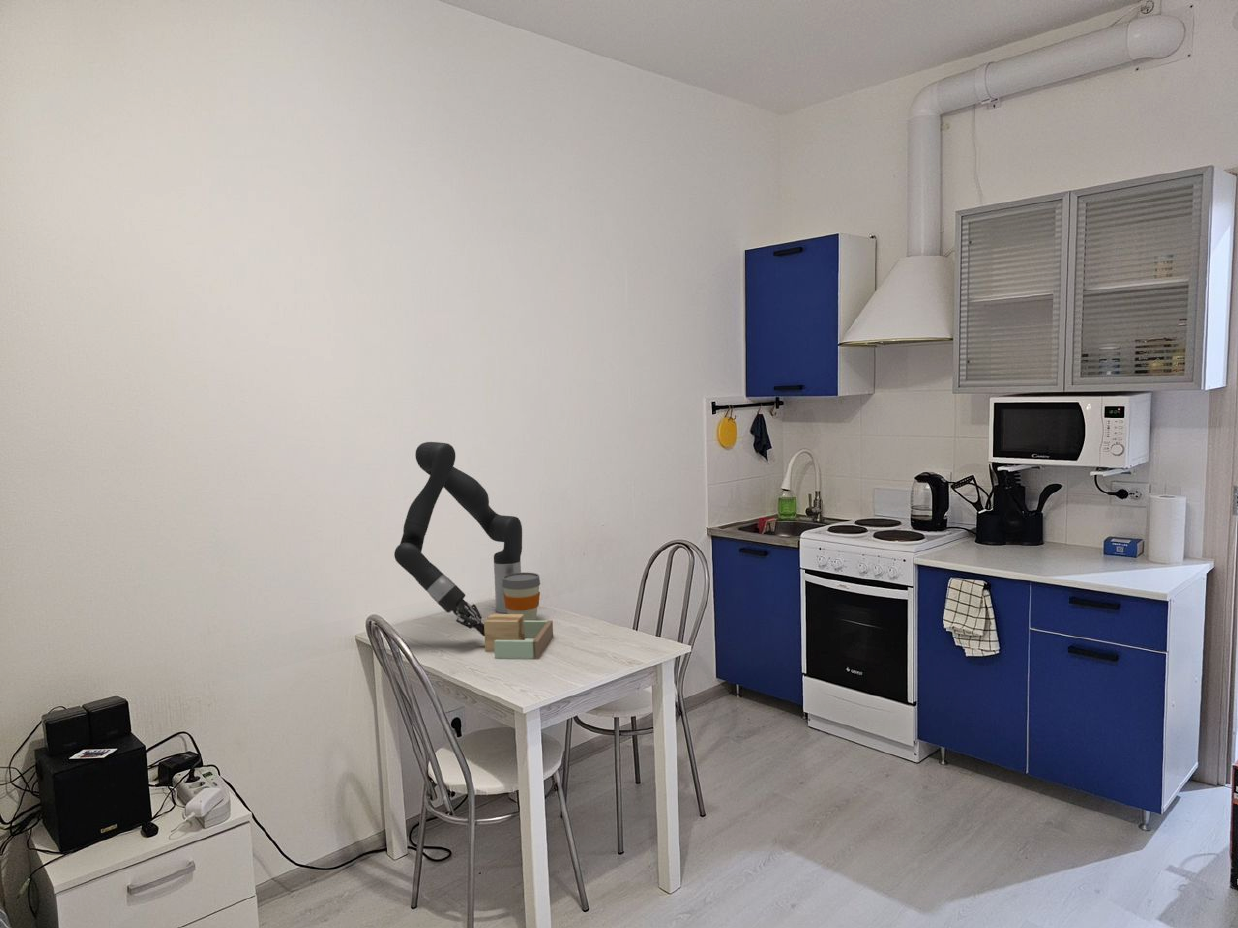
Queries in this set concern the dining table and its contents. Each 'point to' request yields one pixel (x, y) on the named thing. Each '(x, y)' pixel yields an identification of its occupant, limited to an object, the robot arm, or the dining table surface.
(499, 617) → the oak block
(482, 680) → the dining table surface
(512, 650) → the bay
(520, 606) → the reusable coffee cup
